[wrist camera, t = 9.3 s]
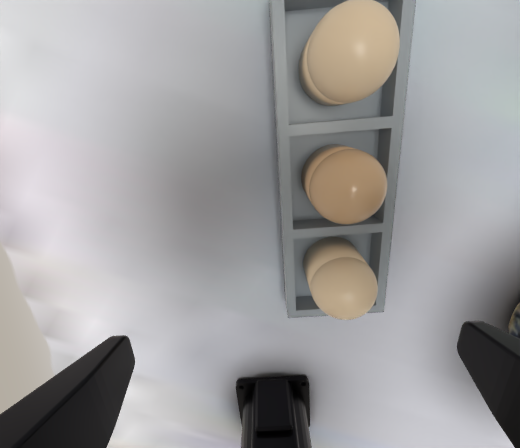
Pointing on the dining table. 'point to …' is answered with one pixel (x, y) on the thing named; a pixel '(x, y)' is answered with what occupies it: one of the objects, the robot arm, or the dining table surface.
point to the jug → (515, 322)
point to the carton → (337, 141)
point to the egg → (344, 183)
